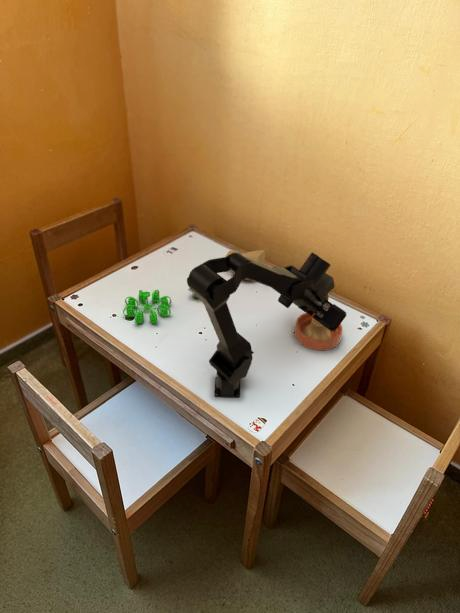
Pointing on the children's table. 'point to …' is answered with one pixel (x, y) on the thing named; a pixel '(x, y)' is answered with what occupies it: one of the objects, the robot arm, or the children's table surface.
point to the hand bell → (317, 329)
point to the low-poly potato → (252, 256)
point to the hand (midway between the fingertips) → (324, 312)
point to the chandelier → (147, 306)
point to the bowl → (312, 343)
